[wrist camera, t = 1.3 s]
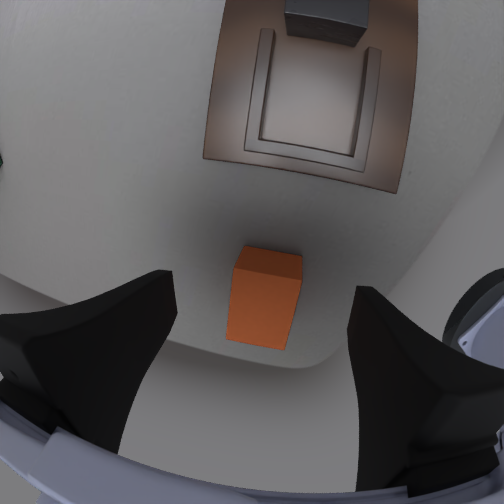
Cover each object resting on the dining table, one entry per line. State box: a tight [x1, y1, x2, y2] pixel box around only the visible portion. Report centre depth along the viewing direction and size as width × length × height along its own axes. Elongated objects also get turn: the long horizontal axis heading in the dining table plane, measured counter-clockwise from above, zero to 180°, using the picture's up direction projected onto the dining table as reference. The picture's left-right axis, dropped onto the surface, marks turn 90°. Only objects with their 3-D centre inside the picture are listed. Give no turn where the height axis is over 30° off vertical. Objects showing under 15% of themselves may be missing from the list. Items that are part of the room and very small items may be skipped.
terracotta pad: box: [226, 246, 302, 350], centre depth 19 cm, size 6×4×4 cm
